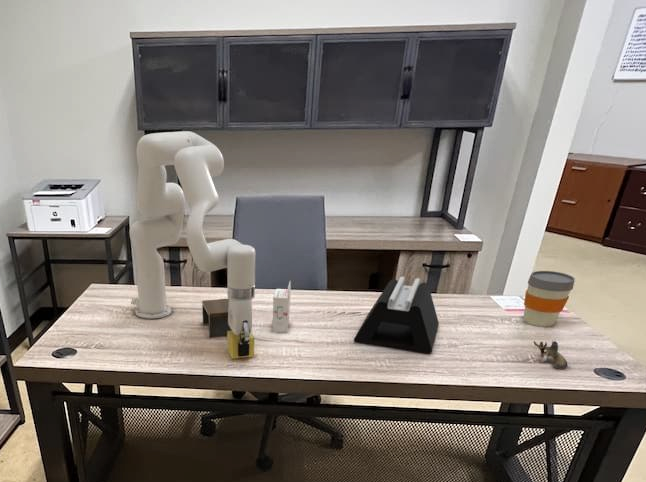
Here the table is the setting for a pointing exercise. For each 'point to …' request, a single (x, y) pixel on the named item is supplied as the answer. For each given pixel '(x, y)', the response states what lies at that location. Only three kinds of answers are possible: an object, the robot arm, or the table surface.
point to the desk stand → (216, 316)
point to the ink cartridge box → (281, 309)
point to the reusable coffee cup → (546, 297)
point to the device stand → (401, 318)
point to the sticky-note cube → (233, 344)
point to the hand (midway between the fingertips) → (240, 350)
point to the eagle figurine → (552, 354)
